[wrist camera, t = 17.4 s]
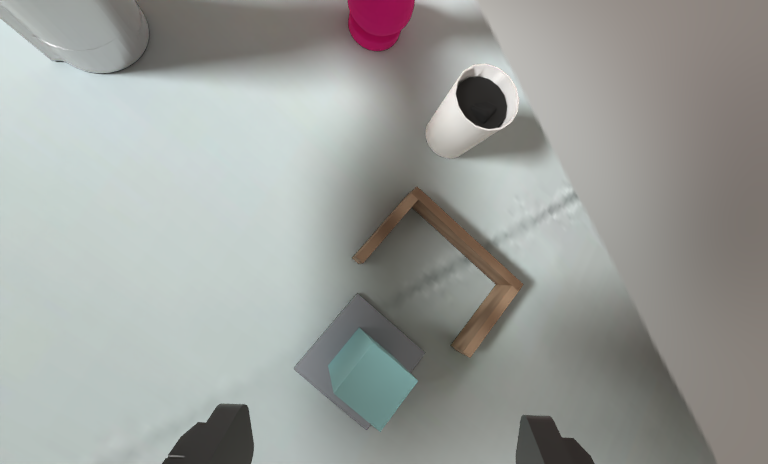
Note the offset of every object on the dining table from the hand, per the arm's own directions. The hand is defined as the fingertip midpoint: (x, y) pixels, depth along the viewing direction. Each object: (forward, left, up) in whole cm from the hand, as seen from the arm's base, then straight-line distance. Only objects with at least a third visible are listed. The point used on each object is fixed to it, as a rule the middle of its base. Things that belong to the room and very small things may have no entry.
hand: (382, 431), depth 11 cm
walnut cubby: (+12, +3, -29) cm, 32 cm away
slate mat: (+3, -5, -29) cm, 30 cm away
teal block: (+3, -5, -29) cm, 29 cm away
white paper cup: (+17, +19, -29) cm, 39 cm away
